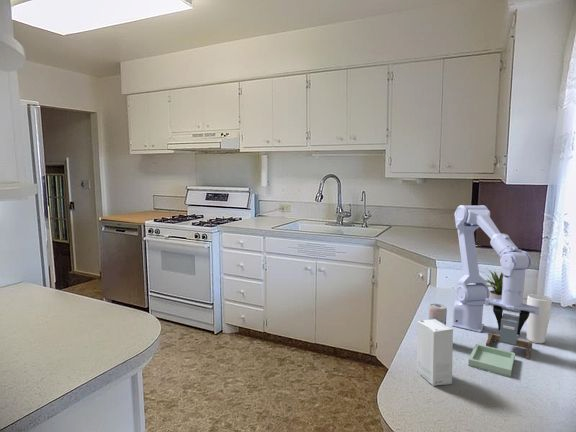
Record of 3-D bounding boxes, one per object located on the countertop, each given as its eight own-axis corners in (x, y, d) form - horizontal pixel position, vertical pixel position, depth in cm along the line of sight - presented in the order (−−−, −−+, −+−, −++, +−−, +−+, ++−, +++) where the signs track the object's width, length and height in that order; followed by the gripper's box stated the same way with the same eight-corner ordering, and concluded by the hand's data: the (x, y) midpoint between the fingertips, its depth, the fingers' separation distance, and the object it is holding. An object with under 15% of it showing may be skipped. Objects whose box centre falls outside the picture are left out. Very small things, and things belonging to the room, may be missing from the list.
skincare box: (452, 384, 101) (455, 329, 99) (431, 386, 99) (435, 331, 98) (433, 368, 109) (436, 317, 107) (414, 370, 107) (417, 319, 106)
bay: (484, 348, 122) (484, 342, 122) (488, 338, 130) (488, 332, 129) (530, 359, 115) (530, 353, 115) (531, 348, 123) (532, 342, 122)
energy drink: (445, 340, 128) (447, 305, 126) (444, 346, 123) (446, 310, 122) (428, 337, 130) (430, 302, 129) (426, 343, 125) (428, 307, 124)
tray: (468, 365, 111) (468, 359, 110) (475, 349, 121) (476, 343, 121) (510, 377, 105) (511, 370, 104) (514, 359, 115) (515, 353, 115)
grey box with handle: (499, 341, 119) (500, 319, 119) (501, 333, 126) (503, 312, 125) (515, 345, 117) (517, 323, 116) (517, 337, 123) (519, 315, 122)
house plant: (481, 298, 172) (484, 262, 170) (517, 305, 164) (520, 267, 162) (475, 307, 161) (478, 268, 159) (513, 314, 153) (516, 274, 151)
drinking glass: (551, 346, 125) (555, 301, 123) (528, 343, 126) (532, 299, 124) (542, 337, 131) (546, 294, 130) (520, 335, 132) (524, 293, 131)
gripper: (485, 288, 120) (481, 330, 122) (540, 297, 112) (536, 342, 114) (488, 283, 126) (485, 323, 128) (540, 291, 118) (536, 334, 120)
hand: (509, 331), depth 121 cm, fingers closed on grey box with handle, 4 cm apart
